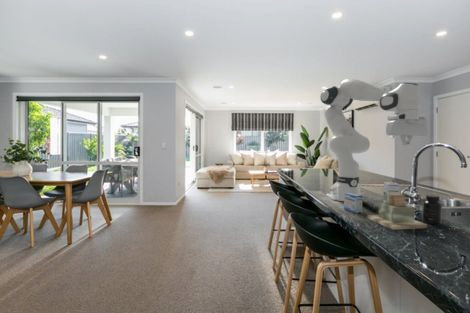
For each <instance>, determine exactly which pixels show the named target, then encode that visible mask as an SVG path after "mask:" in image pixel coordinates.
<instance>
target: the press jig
mask: <svg viewBox="0 0 470 313" xmlns="http://www.w3.org/2000/svg"><path fill="white" fill-rule="evenodd" d="M415 212H416V207H415V206H412V205H409V204H406V203H405V207H394V206H391V205H388V202H385V203H383V202H378V213H377V214H367V216H366V217H367V219H368V220H369V221H370V220H371V221H372V222H375V223H377V224H378V225H381V226H383V227H386V228H388V229H390V230H391V231H392V230H393V231H395V230H396V231H397V230H412V229H415V230H417V229H428V223H425V222H423V221H418V220H416V219H415V215H416V214H415Z"/></svg>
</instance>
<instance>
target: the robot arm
mask: <svg viewBox="0 0 470 313" xmlns="http://www.w3.org/2000/svg"><path fill="white" fill-rule="evenodd" d="M420 90H421V89H420V86H419V84H418V83H415V82H402V83H400V84H399V85H398V86H397V87H395V88H394V89H392V90H390V91H387V90H384V89H381V88H379V87H376V86H374V85H372V84H370V83H368V82H365V81H363V80H359V79H354V78H346V79H344V80H343V81H341V82H340V84H339V86H338V87H337V86H335V85H334V86H330V87H326V88H324V89H323V90H322V92H321V94H320V102H321V103H323V104H324V105H327V106H328V107H327V108H325V110H324V118H325V121H326V123H327V125H328V127H329V129H330V131H331V133H332V134H333V135H334V136H332V137H331V139H330V140H329V143H328V144H329V145H328V147H329V149H330V151H331V152H332V153H333V154H334V155H335V157H336V159H337V162H338V163H337V164H338V176H336V182H335V183H334V184H332V185H331V186H330V188H329V191H330V192H329V193H326V196H327V197H328V198H330V199H331V200H332V201H339V202H344V196H345V193H353V194H357V195H361V194H362V193H361V186H360V185H359V183H360V177H359V171H360V170H359V168H360V166H359V163H358V161H356V160H355V159H354V157H353V154H362V153H365V152H367V151H369V149H370V146H371V145H370V144H371V143H370V140H369V138H368V137H367V136H364V135H363V134H361V133H359V132H358V131H357V130H356V129H355V128H354V127H352V125H351V124H350V123H349V121H348V120H347V117H346V116H345V115H344V113H343V112H344V111H346V110H347V109H348V108H349V107H350V106H351V105H352V103H353V101H354V100H355V101H360V102H363V101H364V102H379V106H380V108H381V109H382V110H383V111H386V112H396V113H394V114H390V115H387V120H388V121H387V122H386V126H385V134H386V135H387V136H399V138H400V140H401V142H402V143H401V145H402V146H411V142H412V140H413V139H414V138H413V137H414V136H415V137H416V136H417V137H425V136H427V135H428V132H429V131H428V122H427V118H425V117H424V116H420V108H419V104H420V100H421V91H420ZM361 196H362V195H361Z"/></svg>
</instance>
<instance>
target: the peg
mask: <svg viewBox="0 0 470 313" xmlns="http://www.w3.org/2000/svg"><path fill="white" fill-rule="evenodd" d="M405 204H406V195H404V194H400V193H399V194H389V198H388V205H391V206H394V207H405Z"/></svg>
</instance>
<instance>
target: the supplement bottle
mask: <svg viewBox="0 0 470 313" xmlns="http://www.w3.org/2000/svg"><path fill="white" fill-rule="evenodd" d="M442 215H443V204H442V203H441V202H440V196H439V195H437V194H426V195H425V200H424V201H423V202H422V223H425V224H427V225H437V224H438V225H441V224H442V219H443V218H442V217H443V216H442Z"/></svg>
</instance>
